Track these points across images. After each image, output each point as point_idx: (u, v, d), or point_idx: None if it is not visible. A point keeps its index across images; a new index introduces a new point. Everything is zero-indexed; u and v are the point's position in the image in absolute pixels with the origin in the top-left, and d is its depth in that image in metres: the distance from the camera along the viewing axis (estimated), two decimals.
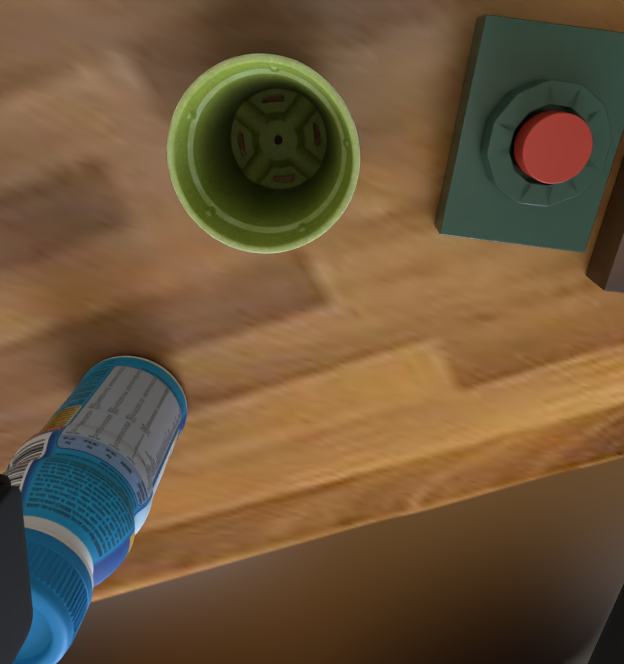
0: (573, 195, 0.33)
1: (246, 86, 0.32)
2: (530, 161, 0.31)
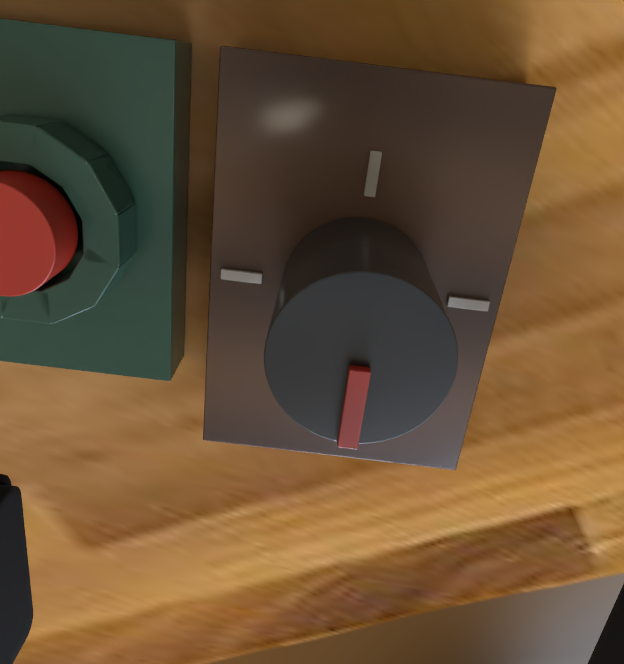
0: (86, 307, 0.20)
1: None
2: None
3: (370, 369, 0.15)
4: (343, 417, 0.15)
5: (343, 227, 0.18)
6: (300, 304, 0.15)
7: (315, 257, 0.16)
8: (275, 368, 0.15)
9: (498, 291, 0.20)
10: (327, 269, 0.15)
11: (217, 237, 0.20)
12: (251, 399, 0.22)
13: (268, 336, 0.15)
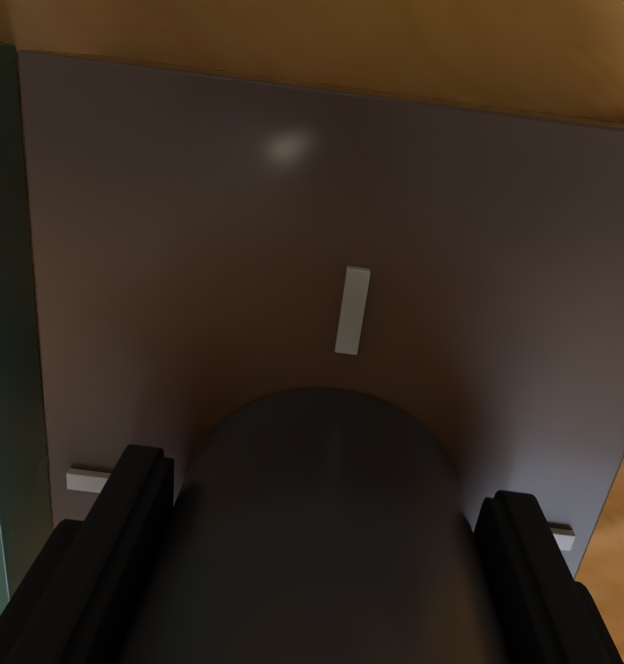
0: None
1: None
2: None
3: None
4: None
5: (289, 429, 0.09)
6: None
7: (207, 554, 0.07)
8: None
9: (592, 516, 0.11)
10: None
11: (55, 417, 0.10)
12: None
13: None
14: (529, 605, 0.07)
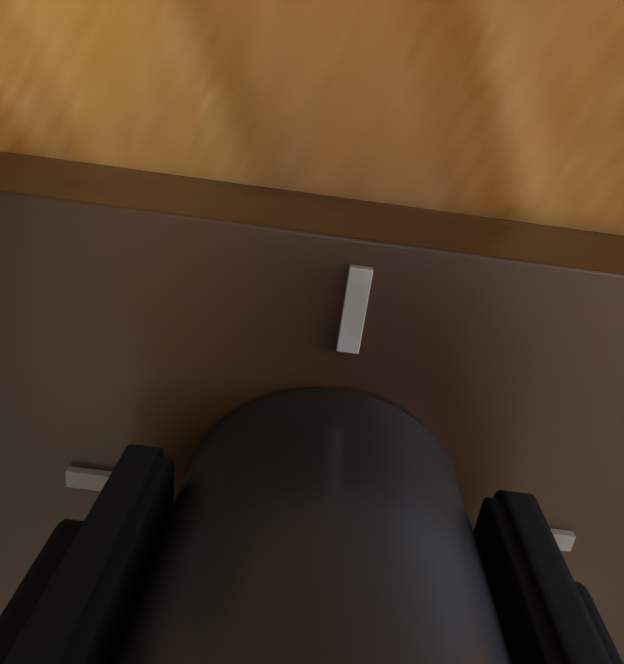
0: None
1: None
2: None
3: None
4: None
5: (292, 428, 0.09)
6: None
7: (209, 552, 0.07)
8: None
9: (327, 246, 0.09)
10: None
11: None
12: None
13: None
14: (529, 605, 0.07)
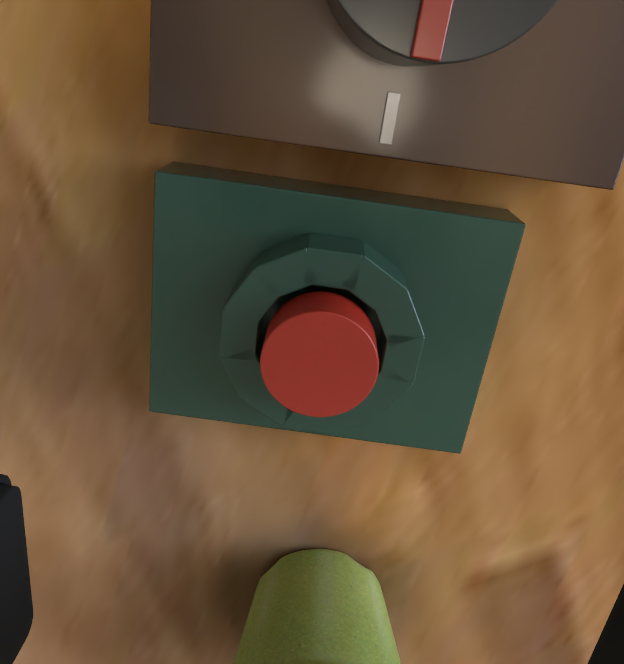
0: (407, 297, 0.18)
1: None
2: (338, 404, 0.18)
3: None
4: None
5: None
6: None
7: None
8: None
9: None
10: None
11: (342, 144, 0.17)
12: (562, 117, 0.17)
13: None
14: None
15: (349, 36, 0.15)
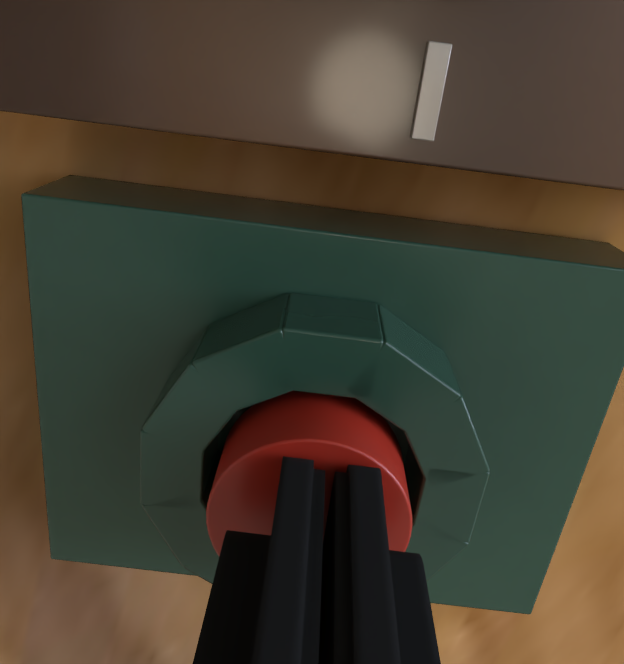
0: (462, 410, 0.10)
1: None
2: None
3: None
4: None
5: None
6: None
7: None
8: None
9: None
10: None
11: (344, 142, 0.10)
12: None
13: None
14: (339, 571, 0.08)
15: None
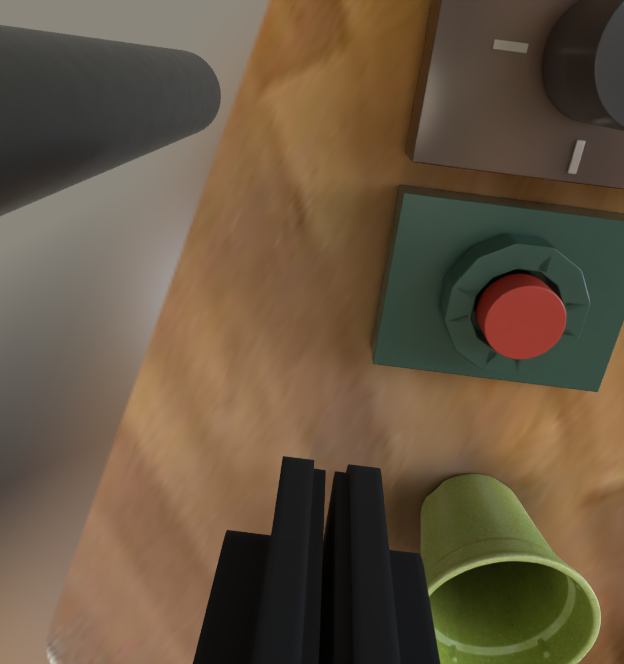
0: (581, 277, 0.27)
1: None
2: (535, 350, 0.27)
3: None
4: None
5: None
6: None
7: None
8: (604, 60, 0.19)
9: None
10: None
11: (542, 174, 0.26)
12: None
13: (604, 29, 0.19)
14: (339, 571, 0.08)
15: (562, 107, 0.24)
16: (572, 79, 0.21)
